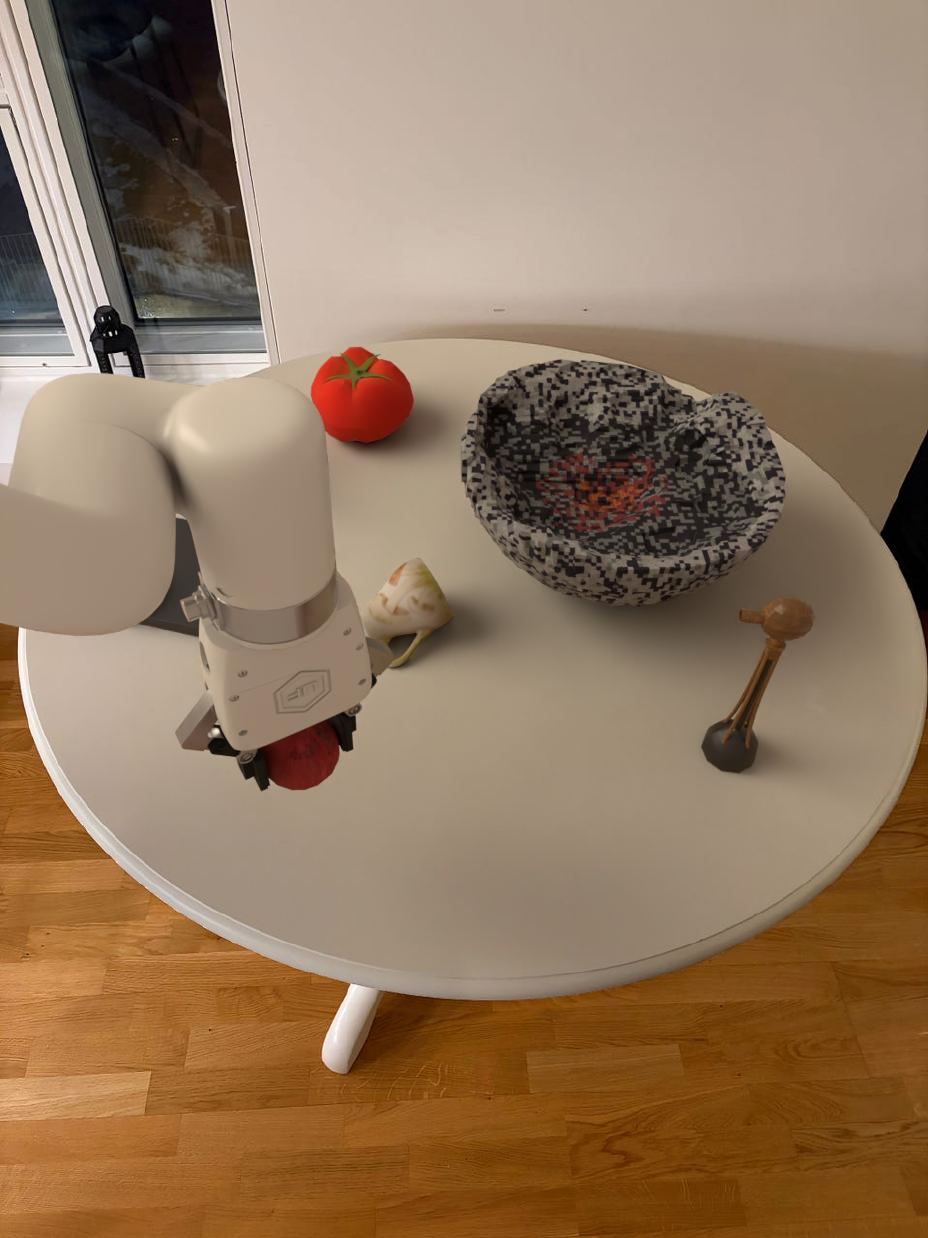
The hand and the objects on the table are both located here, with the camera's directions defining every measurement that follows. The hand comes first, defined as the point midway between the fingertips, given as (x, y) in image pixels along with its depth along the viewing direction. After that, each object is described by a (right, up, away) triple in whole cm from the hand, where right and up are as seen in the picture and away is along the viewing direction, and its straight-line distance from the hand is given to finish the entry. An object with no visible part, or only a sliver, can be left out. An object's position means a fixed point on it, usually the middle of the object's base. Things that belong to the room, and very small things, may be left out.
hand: (299, 754), depth 66 cm
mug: (+6, +9, +24) cm, 26 cm away
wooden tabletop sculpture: (+35, -2, +16) cm, 39 cm away
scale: (-15, +14, +28) cm, 35 cm away
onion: (0, -2, +2) cm, 3 cm away
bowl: (+27, +17, +32) cm, 45 cm away
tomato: (0, +34, +46) cm, 57 cm away
